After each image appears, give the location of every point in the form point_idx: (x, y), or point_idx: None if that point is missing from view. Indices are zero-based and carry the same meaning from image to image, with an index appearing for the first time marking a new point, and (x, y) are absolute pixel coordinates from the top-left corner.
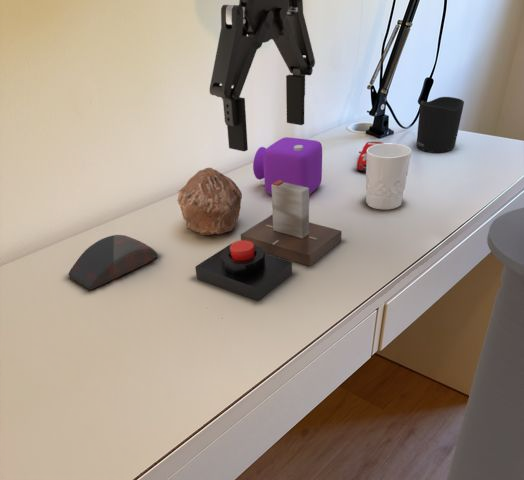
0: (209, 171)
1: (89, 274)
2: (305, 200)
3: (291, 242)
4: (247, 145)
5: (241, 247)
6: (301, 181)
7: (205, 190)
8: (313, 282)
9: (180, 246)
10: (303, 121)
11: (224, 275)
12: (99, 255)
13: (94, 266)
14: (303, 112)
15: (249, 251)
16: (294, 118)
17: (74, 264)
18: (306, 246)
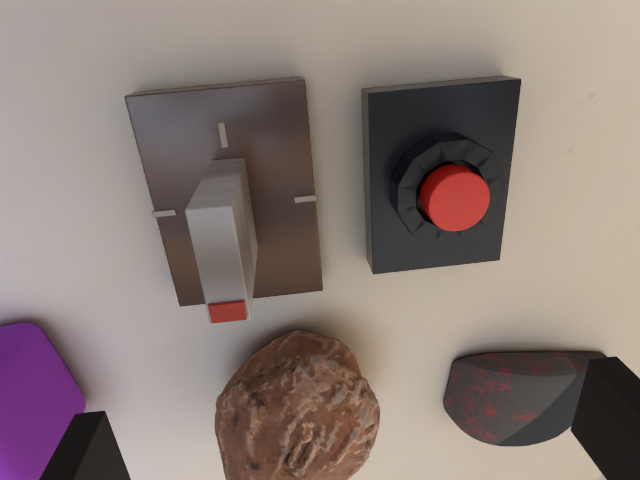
0: None
1: None
2: (214, 194)
3: (277, 168)
4: (606, 374)
5: (468, 197)
6: (12, 356)
7: (342, 434)
8: (363, 14)
9: (397, 359)
10: (76, 426)
11: (504, 183)
12: (571, 405)
13: None
14: (52, 473)
15: (467, 171)
16: (106, 472)
17: None
18: (271, 120)
